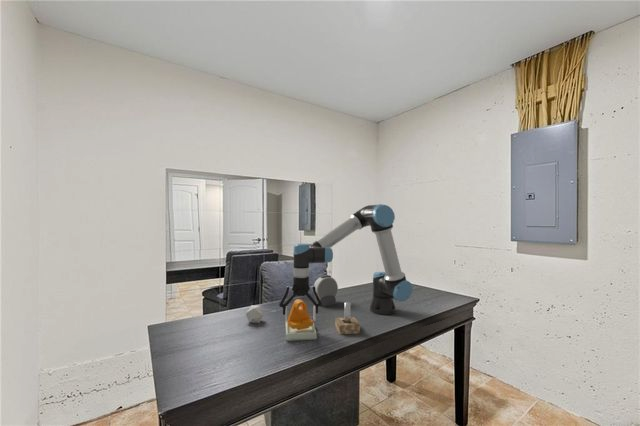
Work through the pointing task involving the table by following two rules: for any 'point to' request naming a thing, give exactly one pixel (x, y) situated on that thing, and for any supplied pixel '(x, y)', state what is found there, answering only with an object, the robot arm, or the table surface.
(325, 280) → the alarm clock
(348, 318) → the cylinder
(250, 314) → the die
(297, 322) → the bracket
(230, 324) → the table surface
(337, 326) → the bore block
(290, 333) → the tray
